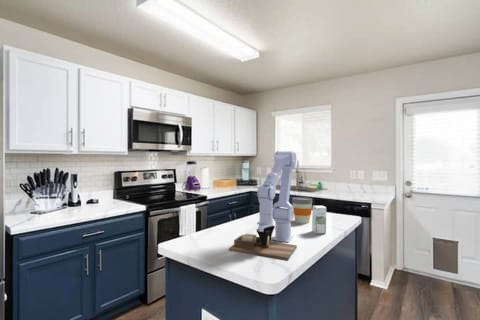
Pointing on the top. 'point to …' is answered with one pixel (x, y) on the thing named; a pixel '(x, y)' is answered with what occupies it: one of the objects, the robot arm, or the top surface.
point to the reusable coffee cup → (302, 209)
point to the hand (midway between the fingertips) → (265, 243)
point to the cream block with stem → (254, 239)
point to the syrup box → (319, 220)
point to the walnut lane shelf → (273, 251)
